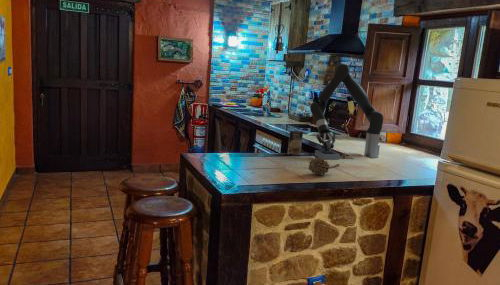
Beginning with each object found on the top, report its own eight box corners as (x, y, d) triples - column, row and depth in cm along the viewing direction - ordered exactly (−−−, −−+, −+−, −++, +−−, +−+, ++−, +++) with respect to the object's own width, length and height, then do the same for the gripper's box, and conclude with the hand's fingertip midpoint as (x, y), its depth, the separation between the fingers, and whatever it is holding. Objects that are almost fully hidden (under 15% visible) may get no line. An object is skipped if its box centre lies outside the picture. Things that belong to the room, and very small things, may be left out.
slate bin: (329, 157, 289) (330, 150, 288) (339, 161, 277) (339, 154, 276) (314, 157, 285) (315, 150, 285) (323, 161, 273) (323, 154, 273)
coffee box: (287, 154, 288) (289, 131, 285) (287, 152, 295) (289, 130, 292) (300, 155, 287) (302, 132, 285) (300, 154, 294) (302, 131, 291)
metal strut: (328, 155, 284) (329, 140, 282) (331, 156, 279) (333, 142, 278) (322, 155, 282) (323, 140, 281) (325, 156, 278) (327, 142, 276)
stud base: (346, 157, 292) (347, 151, 291) (354, 161, 282) (355, 154, 281) (332, 157, 289) (333, 151, 288) (340, 161, 278) (341, 154, 278)
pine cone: (314, 178, 229) (316, 160, 227) (303, 173, 237) (305, 156, 235) (343, 174, 241) (345, 158, 239) (331, 170, 249) (333, 154, 247)
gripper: (315, 123, 282) (321, 144, 273) (334, 124, 286) (341, 144, 277) (311, 130, 288) (317, 150, 279) (329, 130, 292) (336, 151, 283)
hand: (329, 147), depth 278 cm, fingers closed on metal strut, 4 cm apart
